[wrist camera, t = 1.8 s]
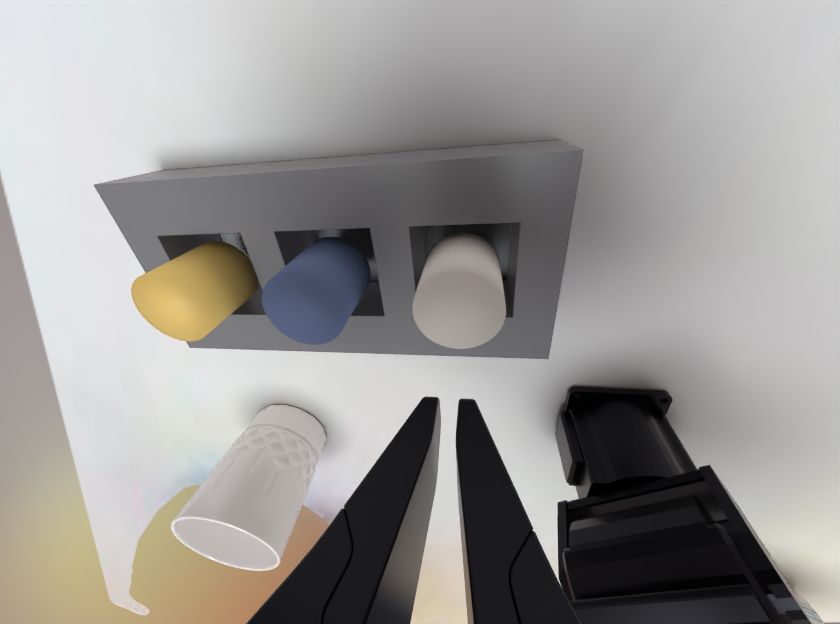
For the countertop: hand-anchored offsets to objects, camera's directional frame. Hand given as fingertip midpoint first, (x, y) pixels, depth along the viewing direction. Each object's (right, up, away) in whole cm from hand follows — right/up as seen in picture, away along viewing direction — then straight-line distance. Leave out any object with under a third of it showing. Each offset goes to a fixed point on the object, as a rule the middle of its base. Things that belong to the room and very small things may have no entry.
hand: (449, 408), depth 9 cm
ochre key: (-12, +5, +9) cm, 16 cm away
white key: (+1, +5, +7) cm, 9 cm away
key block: (-5, +7, +11) cm, 14 cm away
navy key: (-5, +5, +8) cm, 11 cm away
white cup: (-13, -8, +23) cm, 27 cm away
